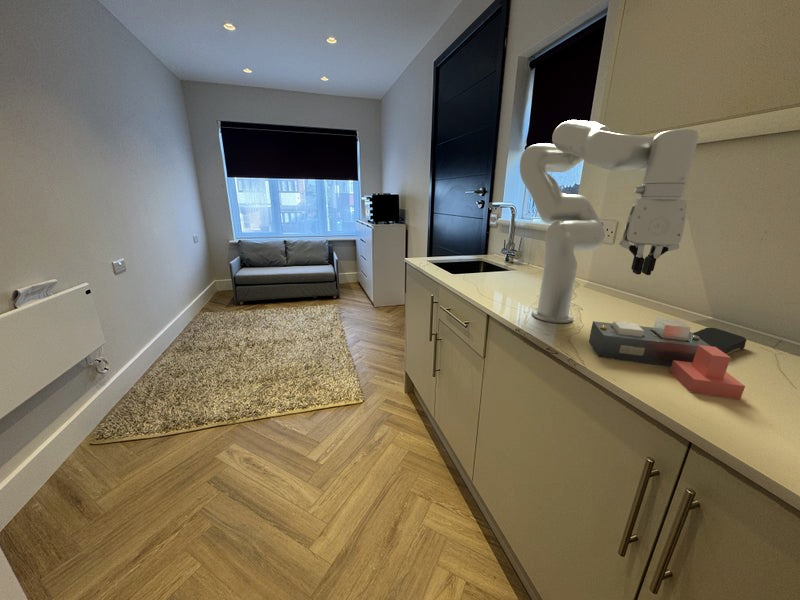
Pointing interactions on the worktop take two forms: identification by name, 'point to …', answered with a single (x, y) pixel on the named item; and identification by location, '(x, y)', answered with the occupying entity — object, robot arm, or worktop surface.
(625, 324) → the button
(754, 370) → the worktop surface
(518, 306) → the worktop surface
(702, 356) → the cap
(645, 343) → the panel
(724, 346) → the black sponge
